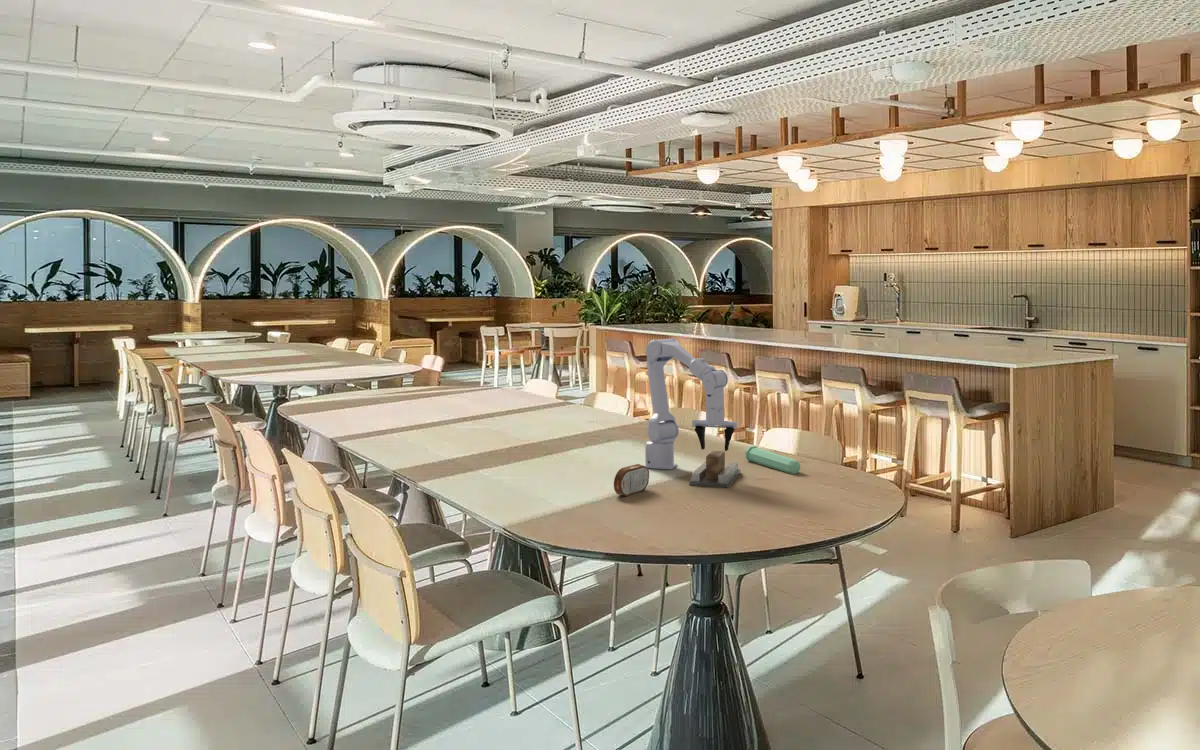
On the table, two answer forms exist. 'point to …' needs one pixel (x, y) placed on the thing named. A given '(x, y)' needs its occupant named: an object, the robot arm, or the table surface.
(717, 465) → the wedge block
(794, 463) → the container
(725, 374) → the robot arm
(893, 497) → the table surface
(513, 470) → the table surface
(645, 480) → the tin
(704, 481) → the slot base
